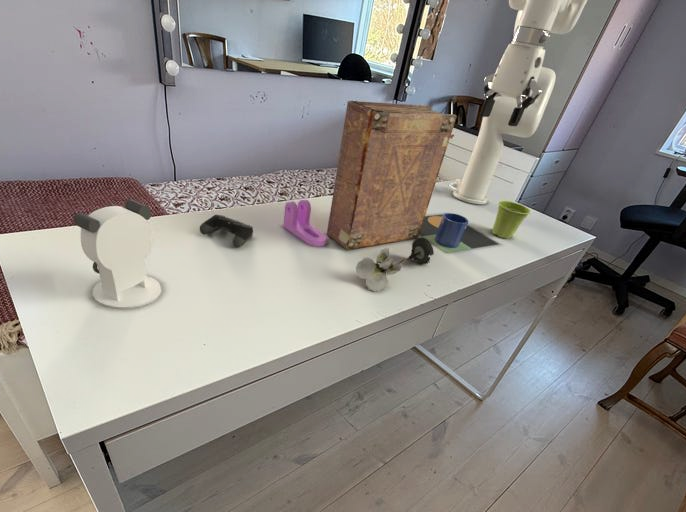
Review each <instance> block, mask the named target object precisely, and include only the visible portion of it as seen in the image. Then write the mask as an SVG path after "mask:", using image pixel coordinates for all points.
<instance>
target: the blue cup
mask: <svg viewBox="0 0 686 512" xmlns="http://www.w3.org/2000/svg"><path fill="white" fill-rule="evenodd" d="M442 215H443V216H442V219H441V222H440V225H439V228H438V230H437V233H436V236H435V242H436V243H438V244H439V245H442V246H444V247H448V248H457V247H458V246H459V244H460V242H461V239H462V237H463V234H464V232H465V229H466V227H467V226H468V224H469V219H467V218H466V217H465V216H464V215H461V214H458V213H453V212H445V213H443V214H442Z"/></svg>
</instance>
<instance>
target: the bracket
mask: <svg viewBox="0 0 686 512" xmlns="http://www.w3.org/2000/svg"><path fill="white" fill-rule="evenodd" d="M311 211H312V205H311V203H310V201H309V200H308V199H301V200H299V201H298V203H296V202H295V201H286V203H285V204H284V214H283V224H282V225H283V226H282V227H283V228H285V229H286V230H288V231H289V232H290V233H291V234H293V235H294V236H296V237H297V238H299V239H300V240H302V241H303V242H305V244H307V245H310V246H313V247H323V246H325V245H327V242H328V235H327V234H325V233H323V232H322V231H321V230H320V229H317V227H315V226H313V225H311V223H310V220H311Z"/></svg>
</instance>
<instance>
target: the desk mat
mask: <svg viewBox="0 0 686 512" xmlns="http://www.w3.org/2000/svg"><path fill="white" fill-rule="evenodd" d="M442 216H443V214H435V215H434V214H433V215H425V218H424V221H423V224H422V227H421V230H420V234H419V236H420V237H421V238H425V239H427V240H428V241H430V243H431V245H434V246H435V247H437V248H438V249H440V250H441V251H443V252H444V253H453V252H460V251H465V250H472V249H478V248H485V247H490V246H496V245H499V242H498V241H497V242H496V241H495V240H493V239H492V238H490V237H488V236H487V235H485V234H483V233H481V232H479V231H478V230H476V229H474V228H473V227H471V226H469V225H467V227H466V229H465V232H464V234H463V237H462V239H461V242H460V244H459V246H458V247H457V248H448V247H444V246H442V245H439V244H438V243H436V242H435V236H436V233H437V230H438V228H439V225H440V222H441V219H442Z"/></svg>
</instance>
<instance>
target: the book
mask: <svg viewBox="0 0 686 512" xmlns="http://www.w3.org/2000/svg"><path fill="white" fill-rule="evenodd" d="M346 103H347V105H346V110H345V116H344V124H343V129H342V134H341V135H342V136H341V140H340V141H341V142H340V147H339V154H338V159H337V160H338V161H337V166H336V174H335V179H334V186H333V191H332V198H331V204H330V210H329V218H328V223H327V229H326V230H327V231H326V236H327V237H329V238H331V239H332V240H333V241H334V242H336V243H338V244H339V245H340V246H341V247H343V248H344V249H345V250H346V251H352V250H357V249H362V248H368V247H369V248H370V247H375V246H380V245H387V244H393V243H399V242H405V241H410V240H416V239H417V238H420V237H419V236H420V235H419V234H420V230H421V227H422V224H423V221H424V218H425V216H427V212H428V208H429V205H430V203H431V199H432V196H433V193H434V189H435V186H436V182H437V180H438V177H439V174H440V171H441V168H442V164H443V162H444V158H445V155H446V151H447V149H448V146H449V142H450V140H451V139H450V138H451V135H452V133H453V130H454V126H455V123H456V121H457V115H456V114H453V113H452V114H449V113H442V112H439V111H436V110H433V109H431V106H430V105H425V104H422V105H421V104H411V103H409V104H407V103H392V102H377V101H376V102H375V101H357V100H348V101H347V102H346Z"/></svg>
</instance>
